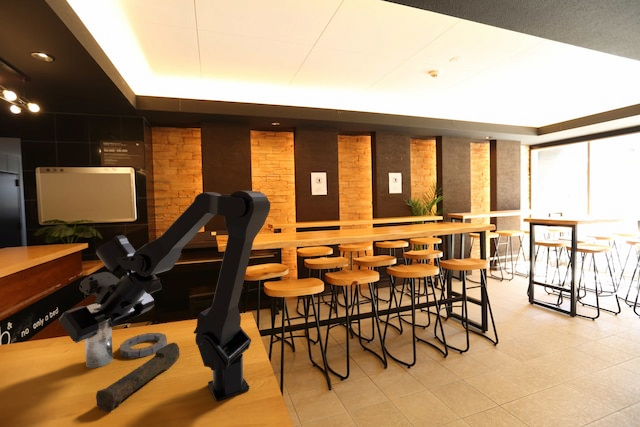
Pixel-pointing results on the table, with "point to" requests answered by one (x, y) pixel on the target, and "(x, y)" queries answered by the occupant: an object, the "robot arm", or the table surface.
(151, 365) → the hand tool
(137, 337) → the ring
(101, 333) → the silver metal cylinder
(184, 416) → the table surface
